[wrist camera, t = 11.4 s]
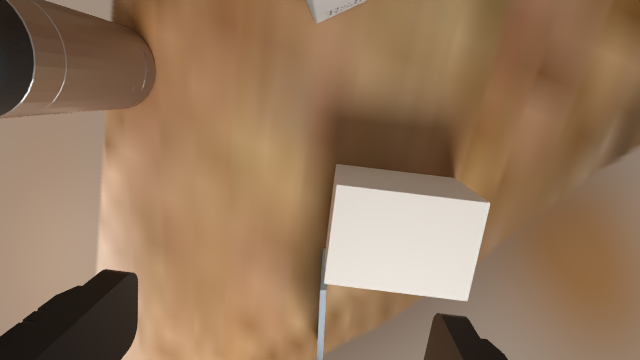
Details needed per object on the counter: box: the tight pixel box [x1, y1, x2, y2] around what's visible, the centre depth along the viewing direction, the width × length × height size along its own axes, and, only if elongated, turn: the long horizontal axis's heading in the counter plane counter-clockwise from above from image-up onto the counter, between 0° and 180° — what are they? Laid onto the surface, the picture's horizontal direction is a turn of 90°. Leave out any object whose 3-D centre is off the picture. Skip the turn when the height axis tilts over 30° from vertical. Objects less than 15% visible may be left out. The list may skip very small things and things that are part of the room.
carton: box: [324, 164, 490, 301], centre depth 39 cm, size 14×10×10 cm
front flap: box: [317, 248, 326, 360], centre depth 39 cm, size 14×1×16 cm, turn 178°
